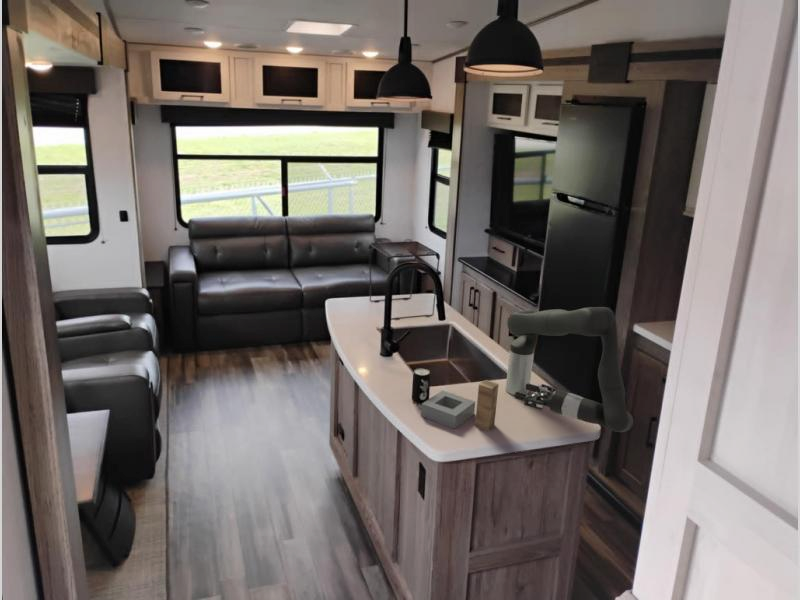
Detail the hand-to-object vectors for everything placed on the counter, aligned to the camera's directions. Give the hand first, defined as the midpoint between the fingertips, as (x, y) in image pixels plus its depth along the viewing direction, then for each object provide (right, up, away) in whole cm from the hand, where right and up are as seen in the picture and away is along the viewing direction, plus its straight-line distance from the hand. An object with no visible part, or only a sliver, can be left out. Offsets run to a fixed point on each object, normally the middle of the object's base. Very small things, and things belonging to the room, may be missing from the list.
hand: (520, 390), depth 208 cm
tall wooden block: (-10, -14, +12) cm, 21 cm away
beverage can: (-33, -8, +28) cm, 44 cm away
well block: (-23, -11, +18) cm, 31 cm away
